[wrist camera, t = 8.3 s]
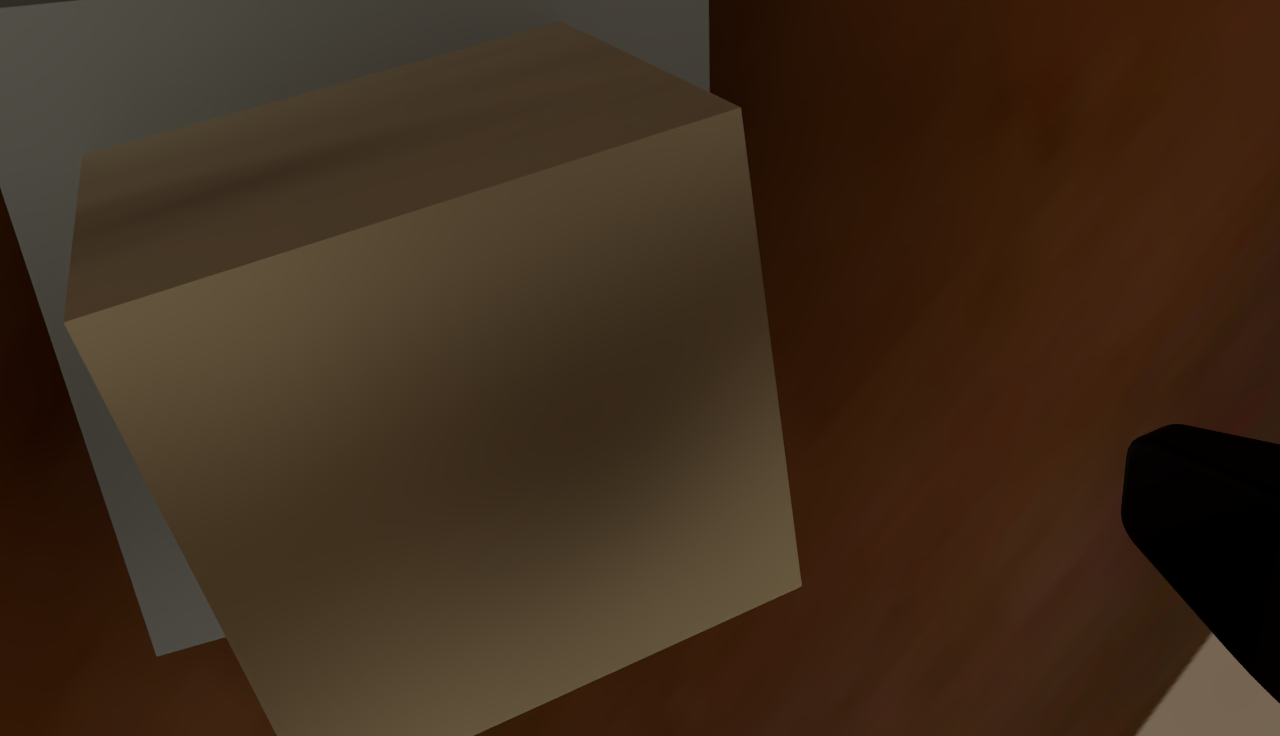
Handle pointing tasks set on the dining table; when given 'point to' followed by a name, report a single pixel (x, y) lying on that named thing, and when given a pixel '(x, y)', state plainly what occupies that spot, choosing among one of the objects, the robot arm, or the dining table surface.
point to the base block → (206, 89)
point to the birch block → (446, 377)
